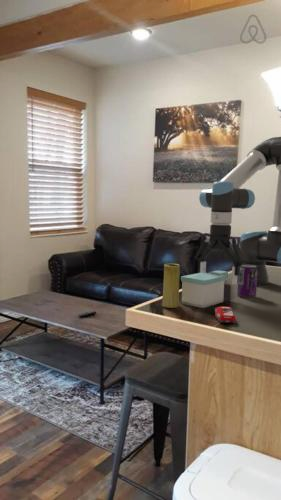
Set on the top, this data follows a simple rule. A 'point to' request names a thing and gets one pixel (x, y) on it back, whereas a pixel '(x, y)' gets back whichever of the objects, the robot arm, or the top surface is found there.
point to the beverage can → (247, 281)
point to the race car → (224, 315)
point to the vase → (171, 286)
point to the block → (205, 277)
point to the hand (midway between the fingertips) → (217, 281)
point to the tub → (202, 294)
